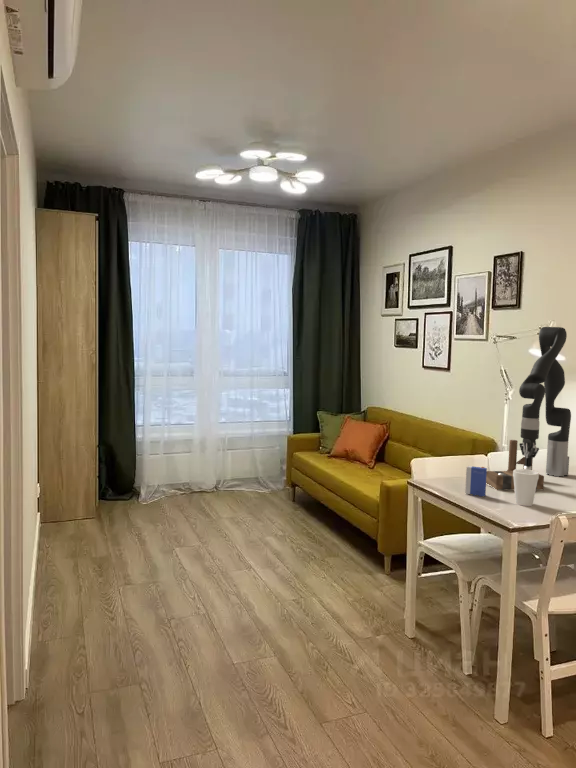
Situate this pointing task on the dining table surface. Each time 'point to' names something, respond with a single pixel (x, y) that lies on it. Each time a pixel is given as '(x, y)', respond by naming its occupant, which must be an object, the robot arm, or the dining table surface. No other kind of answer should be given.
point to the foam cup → (525, 486)
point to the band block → (507, 480)
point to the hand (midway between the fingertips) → (527, 466)
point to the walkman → (476, 480)
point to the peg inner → (528, 468)
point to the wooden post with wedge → (514, 456)
